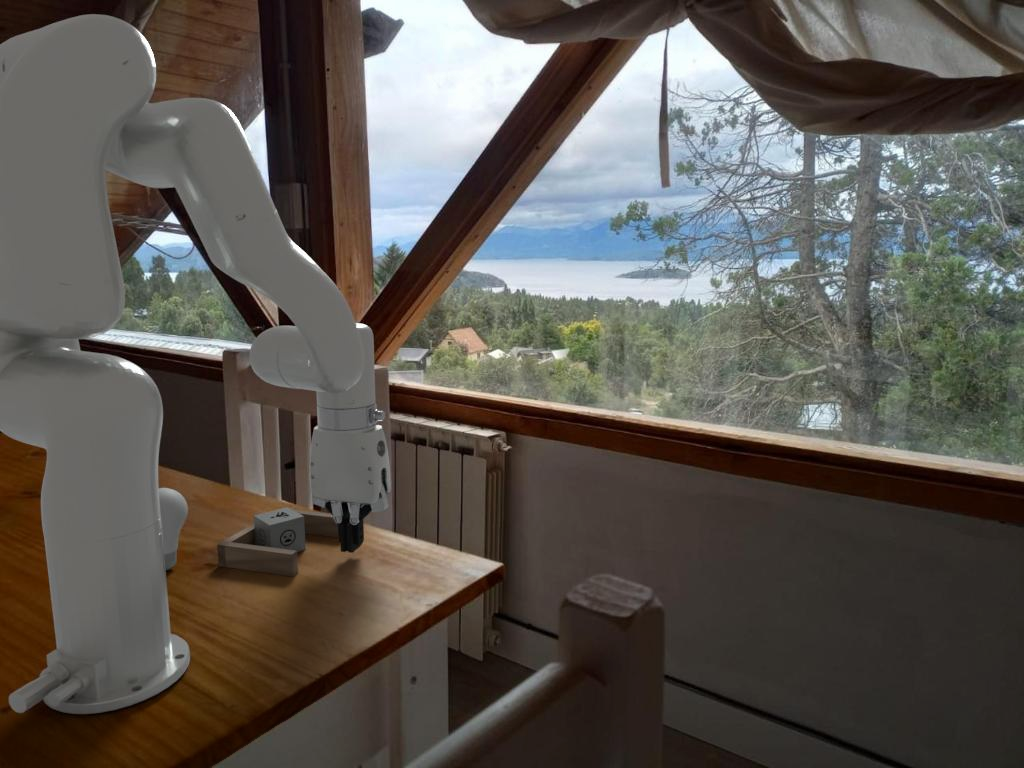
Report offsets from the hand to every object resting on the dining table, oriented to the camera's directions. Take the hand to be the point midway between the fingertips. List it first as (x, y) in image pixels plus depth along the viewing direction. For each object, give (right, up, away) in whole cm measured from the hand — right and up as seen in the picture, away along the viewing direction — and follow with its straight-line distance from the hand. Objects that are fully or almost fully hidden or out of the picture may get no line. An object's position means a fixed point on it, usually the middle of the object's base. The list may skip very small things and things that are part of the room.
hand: (351, 548), depth 95 cm
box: (-9, -1, +3) cm, 10 cm away
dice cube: (-11, -1, +3) cm, 11 cm away
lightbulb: (-23, -2, -4) cm, 24 cm away
